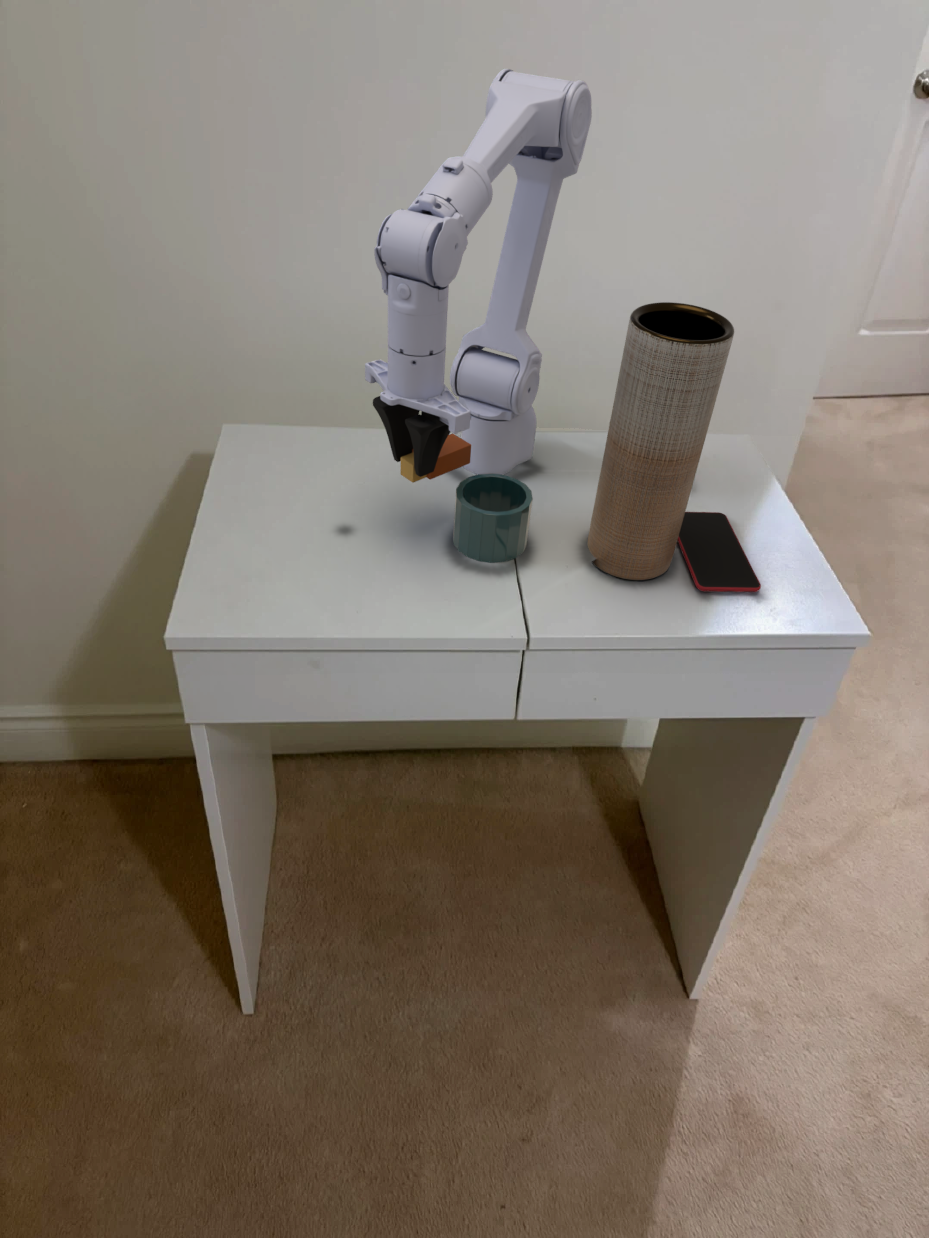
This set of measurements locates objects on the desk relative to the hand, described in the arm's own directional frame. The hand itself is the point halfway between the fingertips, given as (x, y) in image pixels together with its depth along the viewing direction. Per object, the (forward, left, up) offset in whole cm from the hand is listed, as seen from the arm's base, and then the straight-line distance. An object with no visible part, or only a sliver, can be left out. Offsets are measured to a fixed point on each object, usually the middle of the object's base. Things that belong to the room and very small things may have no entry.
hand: (413, 465), depth 92 cm
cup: (-6, +7, -10) cm, 13 cm away
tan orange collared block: (-3, 0, -1) cm, 3 cm away
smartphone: (-26, +24, -10) cm, 37 cm away
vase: (-18, +18, -10) cm, 27 cm away
